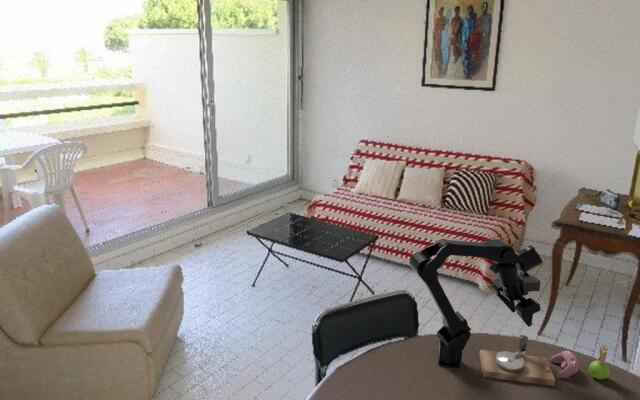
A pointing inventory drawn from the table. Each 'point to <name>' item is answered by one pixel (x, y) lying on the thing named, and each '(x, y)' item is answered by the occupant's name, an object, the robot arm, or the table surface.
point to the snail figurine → (600, 365)
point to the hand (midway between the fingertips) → (521, 318)
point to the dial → (513, 357)
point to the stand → (532, 372)
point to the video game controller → (566, 363)
